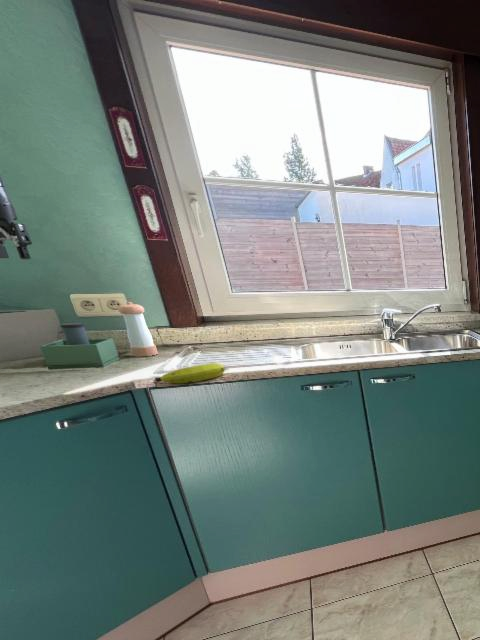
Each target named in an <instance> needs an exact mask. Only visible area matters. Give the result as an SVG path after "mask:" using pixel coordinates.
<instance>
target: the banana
mask: <svg viewBox="0 0 480 640" xmlns="http://www.w3.org/2000/svg"><path fill="white" fill-rule="evenodd" d="M225 371H226V366H224V365H222V364H220V363H218V362H210V363H204V364H199V365H194V366H187V367H184V368H179V369H176V370H173V371H170V372H167V373H165V374H163V375H162V376H161V377H155V378H154V380H155V382H157V383H159V382H163V383H166V384H189V383H190V384H191V383H196V382H201V381H206V380H210V379H214V378H218V377H220V376H222V375H223V374H224V372H225Z"/></svg>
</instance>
